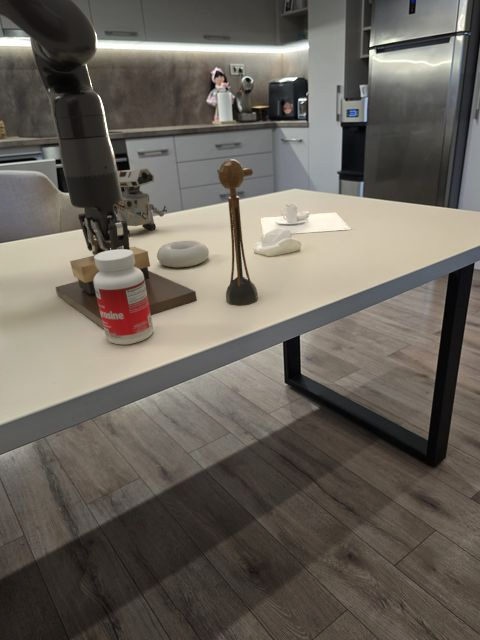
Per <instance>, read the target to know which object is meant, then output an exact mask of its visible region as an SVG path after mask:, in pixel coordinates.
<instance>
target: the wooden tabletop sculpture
mask: <svg viewBox="0 0 480 640" xmlns="http://www.w3.org/2000/svg"><path fill="white" fill-rule="evenodd" d="M253 174H254V171H253V169H252V168H251V167H247V168H244V167H243V166H242V164H241V162H239V161H238V160H236V159H231V158H229V159H227V160H224V161H223V162H222V163H221V164H220V167H219V169H218V181H219V183H220V185H221V186H222V187H223V188H224V189H226V190H229V194H230V196H228V197H227V201H228V213H229V224H230V237H231V238H230V239H231V274H230V282H229V285H228V286H227V288H226V292H225V301H226V303H228V304H229V305H232V306H247V305H251V304H254V303H256V302H257V301H258V299H259V293H258V290H257V287H256V285H255V284H254V283H253V282H252V280H251V278H250V274H249V270H248V267H247V266H248V265H247V260H246V256H245V249H244V242H243V231H242V220H241V208H240V207H241V206H240V196H239V195H237V189H238V188H240V187H241V186H242V184H243V183H244V179H245V178H246V177H252V176H253ZM235 263H236V265H235ZM235 266H236V275H237V276H236V277H235V278H234V274H235V273H234V272H235ZM243 268H244V271H245V276H246V277H245V276H244V273H243V272H244V271H243Z"/></svg>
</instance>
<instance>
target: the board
mask: <svg viewBox="0 0 480 640" xmlns="http://www.w3.org/2000/svg"><path fill="white" fill-rule="evenodd" d="M148 273H149V279H146V280H145V285H146V291H147V297H148V302H149V308H150V314H151V316H152V315H154V314H159V313H161V312H164V311H167V310H170V309H174V308H177V307H180V306H184V305H186V304H189V303H193V302H196V301H197V292H196V291H197V290H193V289H191V288H189V287H187V286H185V285H182V284H180V283H179V282H178V283H177V282H175V281H173V280H171V279H169V278H166V277H164V276H162V275H159V274H157V273H155V272H153V271H150V270H148ZM55 291H56V295H57V296H58V297H59V298H60V299H62V300H63V301H65V302H66V303H67V304H69V305H70V306H72V307H73V308H74V309H75V310H76V311H78V312H80V313H81V314H82V315H83V316H85V317H86V318H87V319H89V320H90V321H92V322H93V323H95V324H96V325H97V326H98V327H100V328H101V329H102V330H104V327H103V323H102V318H101V314H100V310H99V305H98V301H97V296H96V293H95V294H90V293H88V292H87V291H85V290H83V289H82V288H80V286H79V282H78V280H77V281H73V282H70V283H66V284H65V283H64V284H62V285H61V284H60V285H57V286H55Z"/></svg>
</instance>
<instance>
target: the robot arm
mask: <svg viewBox="0 0 480 640" xmlns="http://www.w3.org/2000/svg"><path fill="white" fill-rule="evenodd" d="M0 17H1V18H5V19H7V20H8V21H10V22H12V23H13V24H14V25H15V26H16V27H18V28H19V29H20V30H22V31H23V32H24V33H25V34H26V35H27V36H29V41H30V47H31V51H32V56H33V59H34V62H35V65H36V68H37V71H38V74H39V76H40V79H41V83H42V86H43V88H44V90H45V93H46V95H47V98H48V101H49V104H50V110H51V116H52V120H53V125H54V128H55V133H56V136H57V139H58V147H59V148H58V149H59V158H60V163H61V166H62V170H63V175H64V180H65V183H66V187H67V191H68V195H69V201H70V204H71V205H72V206H73V207H74V208H79V209H84V212H83V213H78V215H77V216H78V220H79V224H80V227H81V230H82V233H83V237H84V241H85V243H86V247H87V249H88V251H90V252H91V253H92V256H95V255H96V254H98V253H101V252H104V251H109V250H118V249H126V250H130V239H129V238H130V237H129V236H128V230H129V226H127V223H126V221H120V222H119V220H118V217H117V216H116V214H117V213H116V211H115V210H116V209H115V208H114V204H115V203H119V202H121V201H122V192H123V191H122V187H120V182H119V176H118V171H119V170H118V166H117V161H116V155H115V151H114V148H113V144H112V142H111V138H110V133H109V129H108V128H109V127H108V124H107V123H108V122H107V118H106V112H105V107H104V105H103V104H104V103H103V101H102V98H101V96H100V95H99V94H98V93H97V92H96V91H94V88H93V86H92V81H91V78H90V74H89V70H88V66H87V64H89V63H90V62H91V61H92V60H93V59H94V57H95V55H96V53H97V51H98V50H97V49H98V36H97V33H96V30H95V27H94V25H93V23H92V22H91V19H90V18H89V17H88V16H87V14H86V13H85V12H84V10H82V8H81V7H80V6H79V5H78V4H77V3H76V2H75V1H74V0H0Z"/></svg>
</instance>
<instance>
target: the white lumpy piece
mask: <svg viewBox="0 0 480 640" xmlns="http://www.w3.org/2000/svg"><path fill="white" fill-rule="evenodd" d="M301 246H302V243H301V242H300V241H299V240H297V239H296V238H295V237H294V236H293V235H292V234H291V232H290V230H289V229H288V230H284V229H280V228H277V229H274V230H272V231H269V232H267V233H266V234H265V236H263V235H262V236H261V237H260V240H258V241H257V242H255V244H254V247H253V252H254V253H255V254H256V255H257V254H258V255H262V256H266V257H275V256H279V255H280V256H281V255H285V254H291V253H294V252H296V251H297V252H298V251H300V249H301Z"/></svg>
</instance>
